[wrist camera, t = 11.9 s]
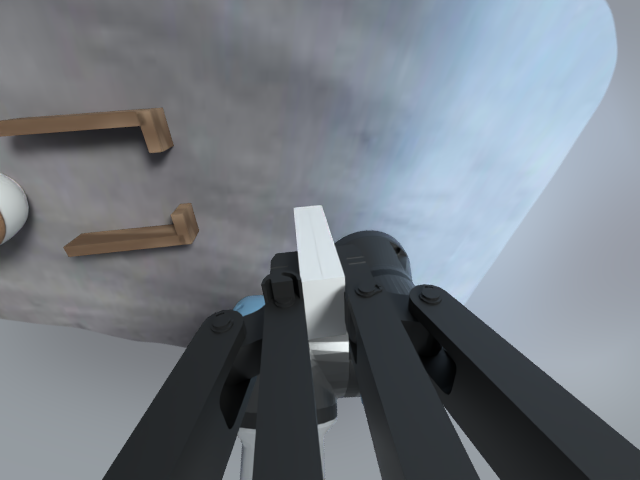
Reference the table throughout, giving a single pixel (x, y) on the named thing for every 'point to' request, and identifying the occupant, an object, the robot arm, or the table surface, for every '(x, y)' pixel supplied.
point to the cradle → (156, 141)
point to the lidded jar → (11, 208)
